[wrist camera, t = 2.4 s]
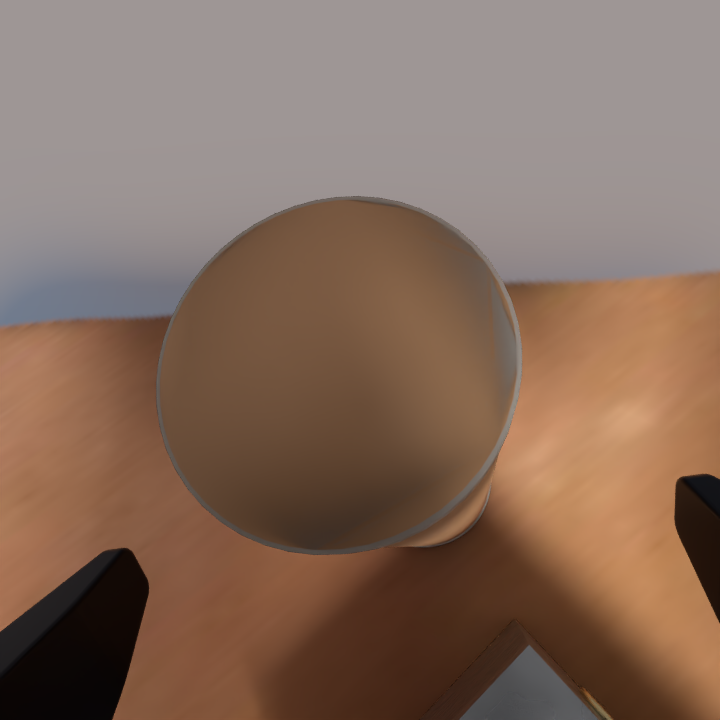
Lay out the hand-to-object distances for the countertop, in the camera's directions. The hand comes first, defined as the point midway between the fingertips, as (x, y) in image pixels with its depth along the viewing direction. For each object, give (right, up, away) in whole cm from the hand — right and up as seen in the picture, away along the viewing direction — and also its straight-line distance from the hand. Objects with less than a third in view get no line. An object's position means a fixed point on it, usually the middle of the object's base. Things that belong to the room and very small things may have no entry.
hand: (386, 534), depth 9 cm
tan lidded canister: (+2, -1, +9) cm, 10 cm away
